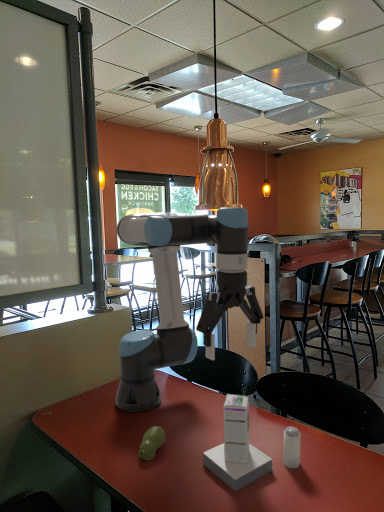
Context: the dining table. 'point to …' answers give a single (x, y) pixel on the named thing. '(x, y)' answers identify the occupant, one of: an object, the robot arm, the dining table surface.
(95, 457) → the dining table surface
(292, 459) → the shaker
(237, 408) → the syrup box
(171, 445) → the dining table surface
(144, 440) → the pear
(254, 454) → the riser
